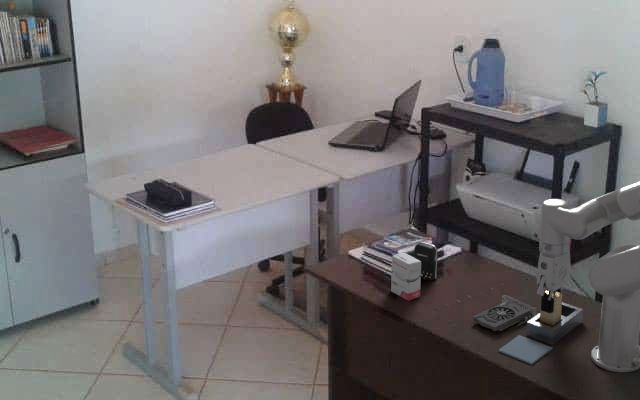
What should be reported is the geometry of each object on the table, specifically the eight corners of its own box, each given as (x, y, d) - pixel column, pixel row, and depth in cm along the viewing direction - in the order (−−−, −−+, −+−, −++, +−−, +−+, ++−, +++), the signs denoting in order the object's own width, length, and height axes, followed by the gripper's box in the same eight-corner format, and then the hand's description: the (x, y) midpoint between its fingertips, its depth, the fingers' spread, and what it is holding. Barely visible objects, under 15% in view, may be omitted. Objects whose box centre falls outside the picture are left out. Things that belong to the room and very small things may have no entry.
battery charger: (412, 277, 270) (412, 244, 266) (418, 273, 273) (419, 239, 269) (431, 283, 266) (431, 249, 262) (437, 278, 269) (438, 245, 264)
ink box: (421, 296, 258) (422, 260, 254) (408, 301, 255) (408, 265, 251) (403, 286, 265) (403, 250, 260) (390, 291, 262) (390, 255, 258)
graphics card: (504, 292, 252) (537, 306, 243) (504, 303, 254) (537, 318, 244) (464, 311, 243) (496, 326, 234) (464, 323, 244) (496, 338, 235)
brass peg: (560, 323, 234) (562, 293, 231) (553, 328, 231) (554, 298, 228) (547, 318, 237) (548, 289, 233) (539, 324, 234) (541, 294, 231)
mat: (552, 349, 228) (552, 347, 228) (531, 364, 221) (532, 363, 221) (518, 336, 234) (519, 335, 234) (498, 351, 228) (498, 349, 228)
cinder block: (582, 322, 241) (583, 309, 239) (552, 344, 230) (553, 331, 228) (556, 313, 246) (557, 300, 244) (526, 334, 235) (526, 322, 234)
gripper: (550, 260, 218) (547, 324, 224) (583, 239, 229) (579, 301, 235) (524, 252, 223) (522, 315, 229) (557, 232, 234) (554, 293, 240)
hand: (551, 307), depth 232 cm, fingers closed on brass peg, 4 cm apart
